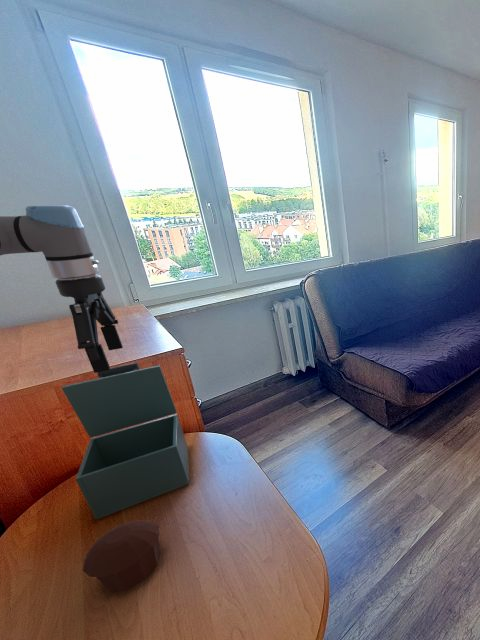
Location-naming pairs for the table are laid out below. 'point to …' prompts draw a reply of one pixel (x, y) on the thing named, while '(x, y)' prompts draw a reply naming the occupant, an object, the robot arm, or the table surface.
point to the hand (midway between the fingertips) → (109, 359)
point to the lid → (120, 398)
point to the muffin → (124, 555)
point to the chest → (134, 465)
